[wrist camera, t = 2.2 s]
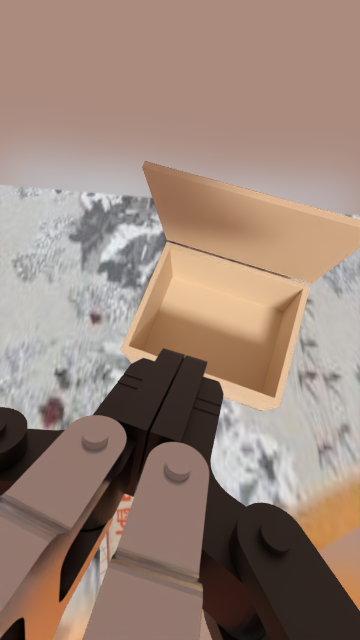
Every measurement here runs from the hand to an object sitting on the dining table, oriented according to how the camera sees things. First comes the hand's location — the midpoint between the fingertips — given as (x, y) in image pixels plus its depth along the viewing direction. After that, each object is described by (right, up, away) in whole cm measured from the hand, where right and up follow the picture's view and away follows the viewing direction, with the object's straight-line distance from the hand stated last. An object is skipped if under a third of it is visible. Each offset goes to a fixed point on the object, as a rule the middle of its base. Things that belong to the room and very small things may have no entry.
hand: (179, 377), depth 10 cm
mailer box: (+4, 0, +29) cm, 29 cm away
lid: (+5, +9, +17) cm, 20 cm away
